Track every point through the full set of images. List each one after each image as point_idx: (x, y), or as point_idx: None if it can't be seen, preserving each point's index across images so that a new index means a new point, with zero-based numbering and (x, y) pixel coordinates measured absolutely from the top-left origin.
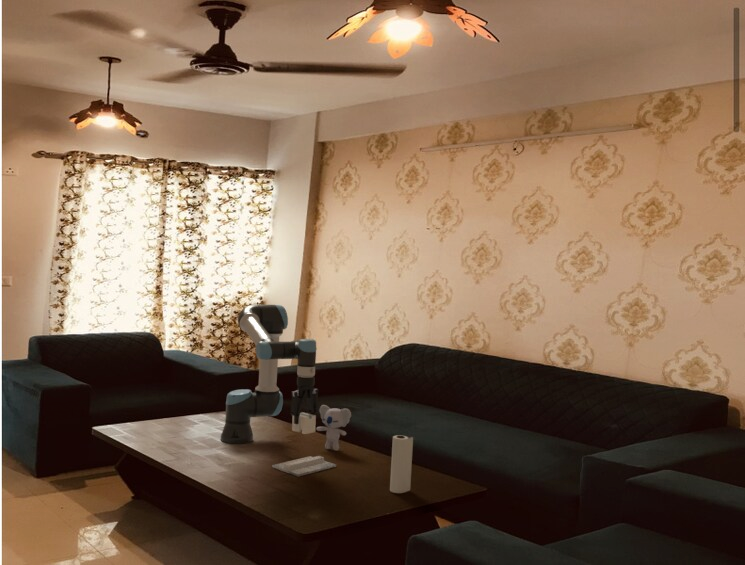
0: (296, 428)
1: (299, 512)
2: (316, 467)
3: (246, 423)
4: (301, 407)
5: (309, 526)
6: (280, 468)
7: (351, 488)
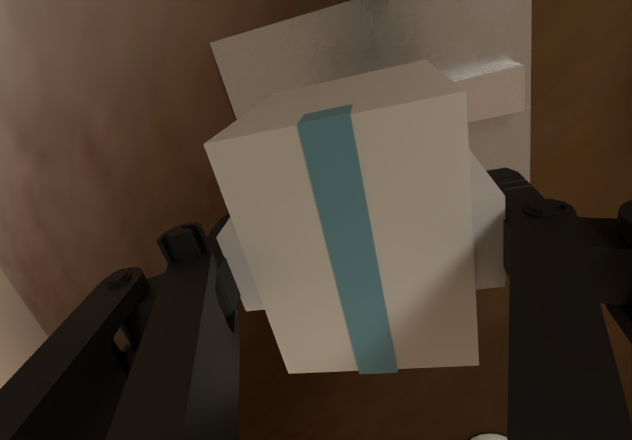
0: None
1: None
2: None
3: None
4: (233, 423)
5: None
6: (234, 111)
7: (382, 380)
